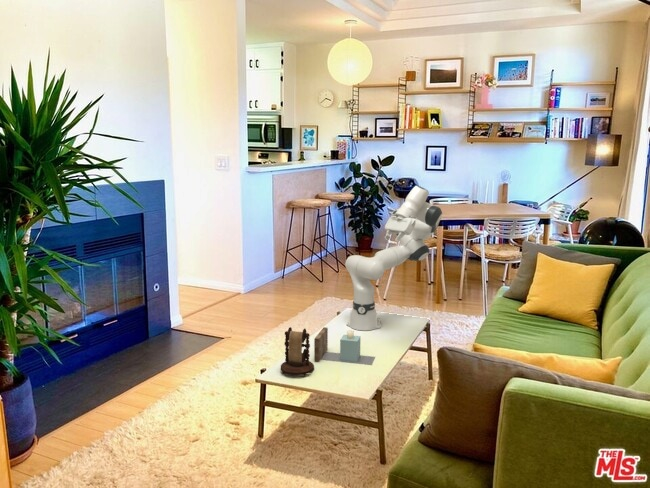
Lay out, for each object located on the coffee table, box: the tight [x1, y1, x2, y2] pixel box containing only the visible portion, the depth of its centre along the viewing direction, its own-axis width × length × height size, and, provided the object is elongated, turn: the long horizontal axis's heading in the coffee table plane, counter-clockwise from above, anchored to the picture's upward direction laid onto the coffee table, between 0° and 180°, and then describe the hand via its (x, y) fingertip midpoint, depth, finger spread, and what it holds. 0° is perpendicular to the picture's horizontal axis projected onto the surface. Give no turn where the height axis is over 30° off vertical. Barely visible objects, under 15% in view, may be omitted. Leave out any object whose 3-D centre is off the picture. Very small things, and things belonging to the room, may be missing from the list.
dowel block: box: [339, 330, 361, 362], centre depth 249 cm, size 7×8×13 cm
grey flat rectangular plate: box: [320, 351, 376, 366], centre depth 250 cm, size 10×24×1 cm, turn 75°
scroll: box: [280, 327, 315, 378], centre depth 236 cm, size 15×15×20 cm
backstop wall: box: [313, 327, 329, 363], centre depth 253 cm, size 16×2×12 cm, turn 165°
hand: (391, 240), depth 255 cm, fingers open, 8 cm apart
